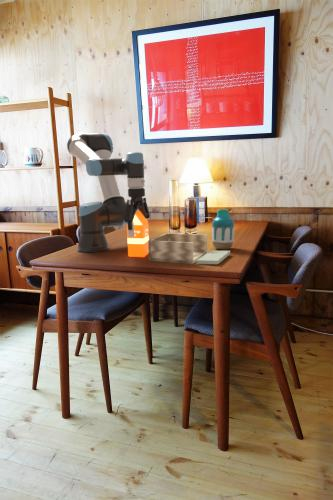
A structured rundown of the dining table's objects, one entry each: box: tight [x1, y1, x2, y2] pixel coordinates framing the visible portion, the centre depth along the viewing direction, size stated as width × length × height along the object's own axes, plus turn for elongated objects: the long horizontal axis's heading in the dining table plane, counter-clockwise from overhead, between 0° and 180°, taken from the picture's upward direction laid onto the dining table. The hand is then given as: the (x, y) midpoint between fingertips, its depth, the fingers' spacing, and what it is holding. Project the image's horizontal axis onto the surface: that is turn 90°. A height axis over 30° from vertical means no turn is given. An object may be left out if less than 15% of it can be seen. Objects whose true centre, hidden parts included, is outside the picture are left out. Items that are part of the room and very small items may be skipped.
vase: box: [211, 208, 235, 251], centre depth 183 cm, size 11×11×19 cm
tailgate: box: [196, 250, 231, 265], centre depth 164 cm, size 2×19×9 cm
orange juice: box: [126, 210, 150, 258], centre depth 177 cm, size 8×9×20 cm
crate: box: [148, 232, 208, 265], centre depth 170 cm, size 20×20×9 cm
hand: (138, 234), depth 177 cm, fingers open, 13 cm apart
